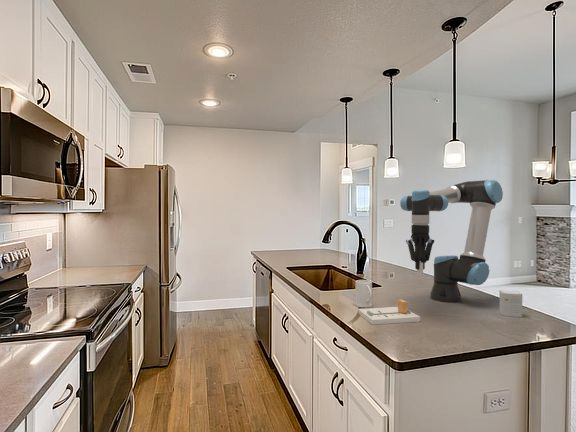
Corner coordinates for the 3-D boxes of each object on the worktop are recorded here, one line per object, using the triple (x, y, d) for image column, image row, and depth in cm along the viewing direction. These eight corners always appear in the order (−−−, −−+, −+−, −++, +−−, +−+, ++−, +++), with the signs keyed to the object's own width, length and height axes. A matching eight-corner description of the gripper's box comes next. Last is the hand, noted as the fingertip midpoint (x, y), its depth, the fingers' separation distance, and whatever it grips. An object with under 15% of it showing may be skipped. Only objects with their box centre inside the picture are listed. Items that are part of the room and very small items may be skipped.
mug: (377, 308, 171) (377, 284, 170) (361, 309, 169) (361, 285, 169) (368, 302, 182) (368, 279, 182) (352, 303, 181) (352, 280, 180)
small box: (518, 314, 162) (519, 291, 162) (522, 317, 156) (522, 294, 156) (499, 312, 164) (499, 289, 164) (501, 315, 159) (502, 292, 159)
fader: (402, 310, 160) (402, 299, 160) (407, 313, 156) (407, 301, 156) (397, 310, 159) (397, 299, 159) (402, 313, 155) (402, 302, 155)
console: (401, 310, 167) (401, 304, 167) (420, 321, 152) (420, 314, 152) (357, 313, 163) (358, 306, 163) (372, 324, 148) (372, 317, 148)
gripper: (428, 223, 163) (428, 274, 164) (402, 224, 161) (402, 275, 161) (438, 224, 156) (438, 277, 156) (411, 224, 153) (410, 278, 154)
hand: (419, 276), depth 159 cm, fingers closed
